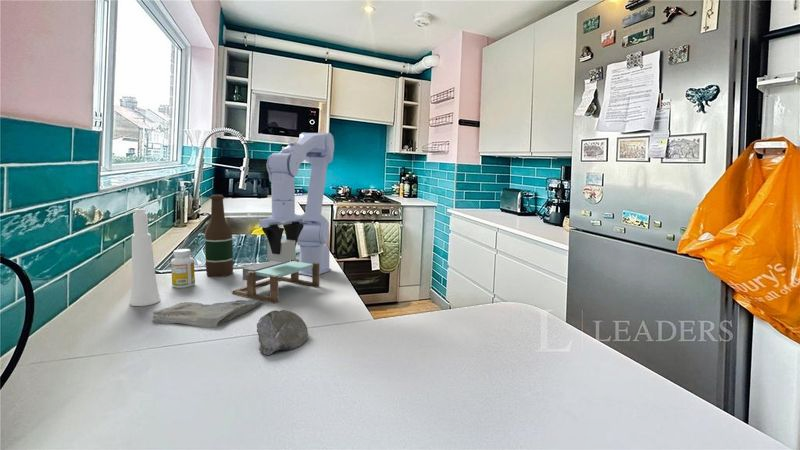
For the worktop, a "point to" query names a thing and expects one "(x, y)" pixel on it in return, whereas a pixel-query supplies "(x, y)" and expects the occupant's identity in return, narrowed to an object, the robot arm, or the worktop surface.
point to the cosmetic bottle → (142, 263)
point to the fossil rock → (204, 312)
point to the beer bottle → (218, 241)
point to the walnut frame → (274, 284)
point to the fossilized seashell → (281, 331)
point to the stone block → (283, 251)
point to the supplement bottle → (182, 269)
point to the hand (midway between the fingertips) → (283, 252)
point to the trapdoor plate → (275, 269)
